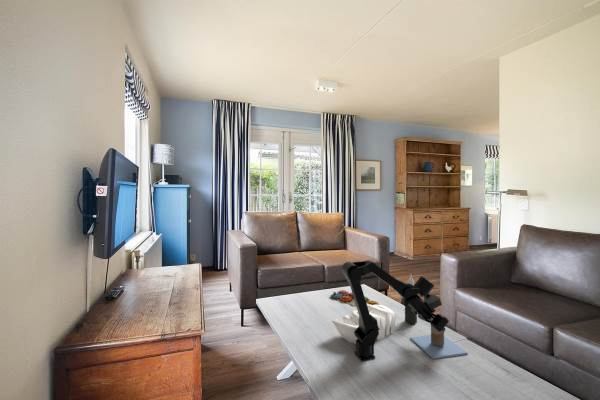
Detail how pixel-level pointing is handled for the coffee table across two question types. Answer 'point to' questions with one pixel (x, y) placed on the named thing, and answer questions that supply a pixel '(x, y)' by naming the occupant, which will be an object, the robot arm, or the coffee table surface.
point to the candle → (409, 316)
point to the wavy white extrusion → (350, 324)
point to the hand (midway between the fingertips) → (440, 327)
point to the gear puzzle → (348, 298)
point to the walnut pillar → (437, 337)
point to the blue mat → (438, 347)
